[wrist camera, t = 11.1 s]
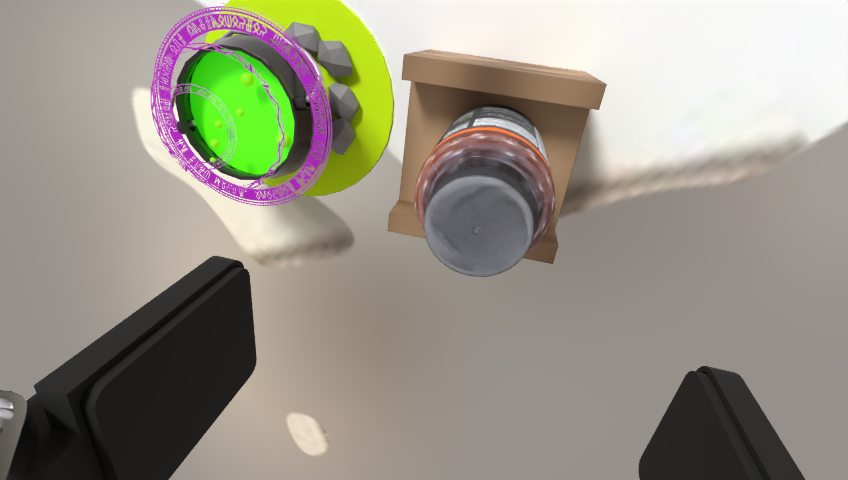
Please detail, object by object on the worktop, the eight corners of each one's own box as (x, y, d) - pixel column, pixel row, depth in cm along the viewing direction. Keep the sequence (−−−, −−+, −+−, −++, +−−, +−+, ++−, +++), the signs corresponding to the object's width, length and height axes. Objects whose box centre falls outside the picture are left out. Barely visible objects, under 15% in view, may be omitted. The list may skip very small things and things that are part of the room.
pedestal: (585, 71, 27) (606, 84, 20) (545, 216, 31) (552, 263, 25) (430, 49, 28) (403, 54, 22) (413, 191, 33) (387, 230, 26)
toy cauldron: (363, -47, 27) (275, -94, 17) (414, 181, 33) (370, 245, 23) (170, 11, 31) (7, 0, 21) (246, 206, 36) (147, 269, 27)
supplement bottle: (504, 218, 27) (497, 328, 17) (424, 168, 26) (367, 249, 16) (566, 138, 24) (600, 212, 14) (477, 80, 24) (447, 114, 14)
